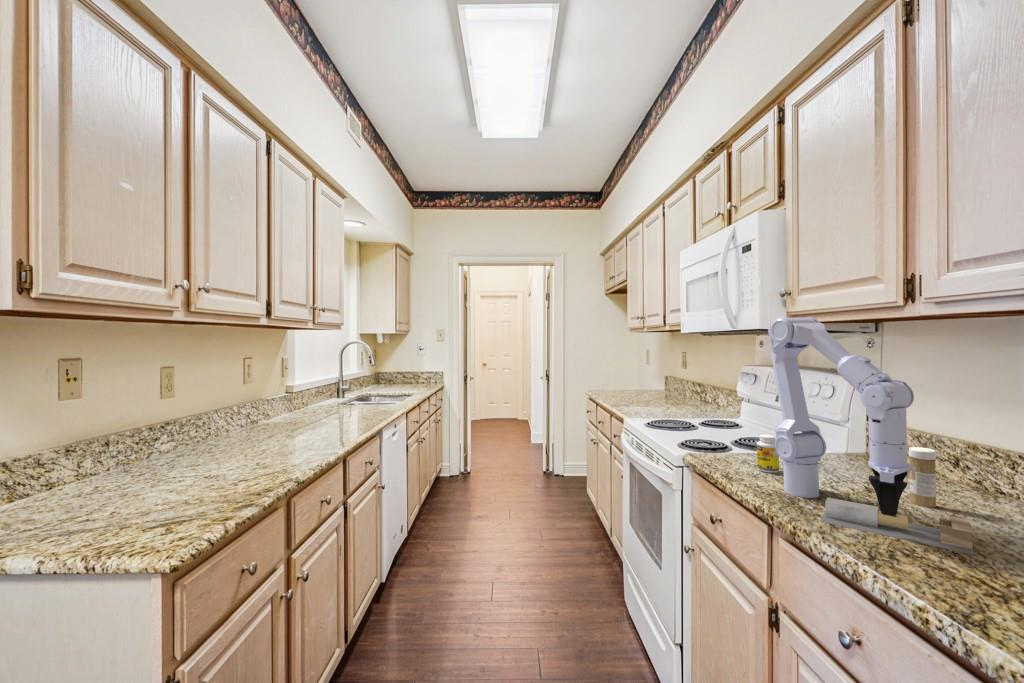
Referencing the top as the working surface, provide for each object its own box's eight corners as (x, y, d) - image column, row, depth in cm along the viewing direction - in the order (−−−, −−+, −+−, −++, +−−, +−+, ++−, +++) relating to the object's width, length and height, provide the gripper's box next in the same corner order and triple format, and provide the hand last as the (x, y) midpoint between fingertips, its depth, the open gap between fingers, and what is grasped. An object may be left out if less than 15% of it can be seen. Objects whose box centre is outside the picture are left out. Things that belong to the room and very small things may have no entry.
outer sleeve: (827, 512, 95) (827, 497, 95) (878, 522, 89) (878, 506, 89) (825, 516, 93) (825, 501, 93) (877, 527, 87) (877, 511, 87)
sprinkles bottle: (909, 502, 101) (908, 445, 101) (937, 507, 98) (935, 448, 98) (909, 508, 98) (908, 449, 98) (937, 514, 95) (936, 452, 95)
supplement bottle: (753, 469, 129) (752, 435, 129) (765, 466, 131) (764, 433, 131) (771, 474, 124) (770, 438, 124) (783, 471, 126) (782, 436, 126)
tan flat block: (830, 510, 94) (829, 479, 94) (908, 526, 86) (907, 491, 86) (828, 513, 93) (828, 481, 93) (908, 529, 84) (907, 494, 84)
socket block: (939, 533, 84) (939, 514, 84) (969, 539, 81) (969, 520, 81) (941, 542, 80) (940, 523, 80) (972, 549, 77) (972, 529, 77)
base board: (827, 511, 98) (827, 506, 98) (968, 539, 83) (968, 534, 83) (820, 526, 90) (820, 521, 90) (974, 560, 76) (974, 554, 76)
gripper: (915, 452, 79) (916, 526, 79) (914, 437, 89) (916, 503, 90) (865, 446, 84) (866, 516, 84) (870, 433, 94) (871, 495, 94)
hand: (889, 509), depth 87 cm, fingers open, 6 cm apart
